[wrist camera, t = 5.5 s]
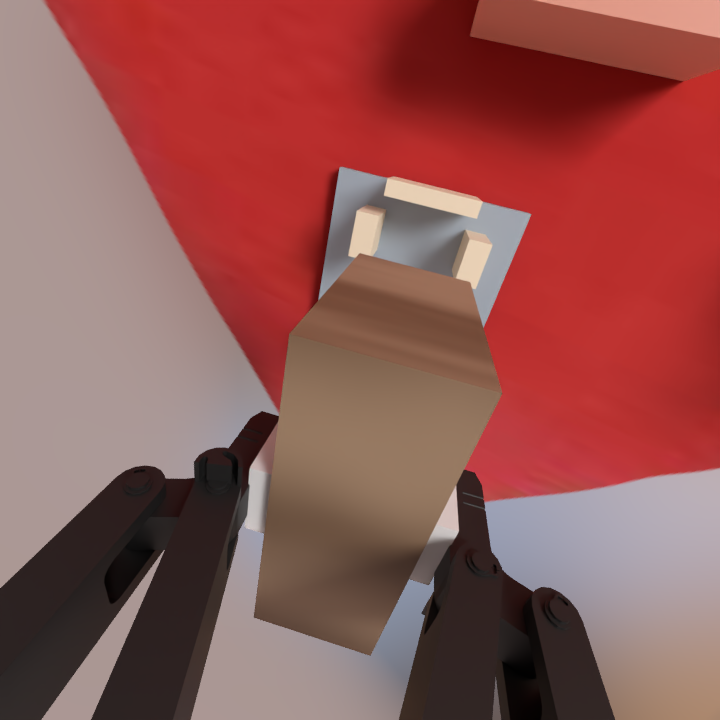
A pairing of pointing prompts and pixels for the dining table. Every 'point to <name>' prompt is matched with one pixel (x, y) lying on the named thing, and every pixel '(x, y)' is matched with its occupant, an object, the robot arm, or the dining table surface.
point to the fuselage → (369, 445)
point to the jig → (422, 232)
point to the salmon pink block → (611, 32)
